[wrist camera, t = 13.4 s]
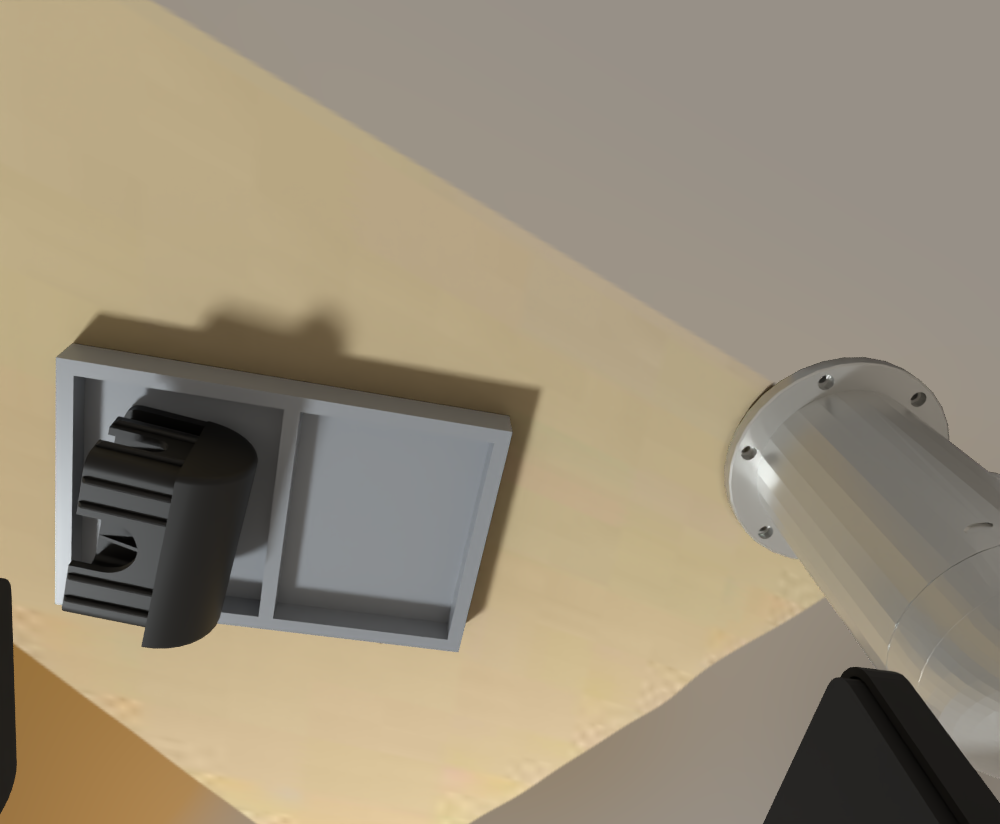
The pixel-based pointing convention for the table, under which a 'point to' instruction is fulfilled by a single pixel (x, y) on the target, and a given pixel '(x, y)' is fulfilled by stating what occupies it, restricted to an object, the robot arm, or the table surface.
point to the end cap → (162, 524)
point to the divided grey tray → (310, 494)
